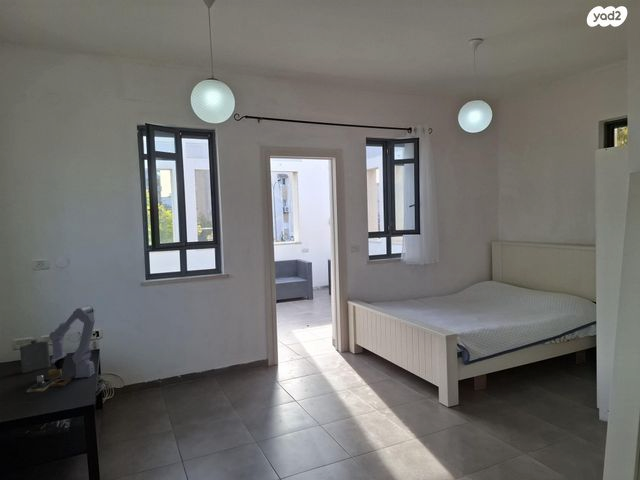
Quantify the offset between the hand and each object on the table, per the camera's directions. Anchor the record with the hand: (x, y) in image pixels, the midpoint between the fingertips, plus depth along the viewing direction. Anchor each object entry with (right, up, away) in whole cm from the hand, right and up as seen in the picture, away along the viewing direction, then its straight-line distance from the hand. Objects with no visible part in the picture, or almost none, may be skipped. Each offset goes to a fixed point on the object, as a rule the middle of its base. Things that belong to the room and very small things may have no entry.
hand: (59, 370), depth 269 cm
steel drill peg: (+2, -4, -20) cm, 21 cm away
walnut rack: (+10, -4, -16) cm, 19 cm away
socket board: (+2, -4, -20) cm, 21 cm away
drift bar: (+1, -2, -15) cm, 15 cm away
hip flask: (-25, -4, +15) cm, 29 cm away
